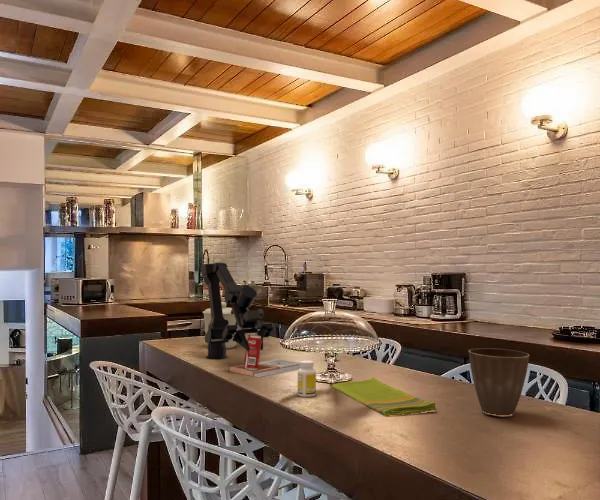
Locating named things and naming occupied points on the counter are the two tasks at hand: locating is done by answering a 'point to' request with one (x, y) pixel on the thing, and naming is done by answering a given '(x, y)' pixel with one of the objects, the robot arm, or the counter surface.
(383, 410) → the dish towel
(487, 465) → the counter surface
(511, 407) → the plant pot
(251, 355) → the soda can
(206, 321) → the canister
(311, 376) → the supplement bottle
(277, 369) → the socket rail
